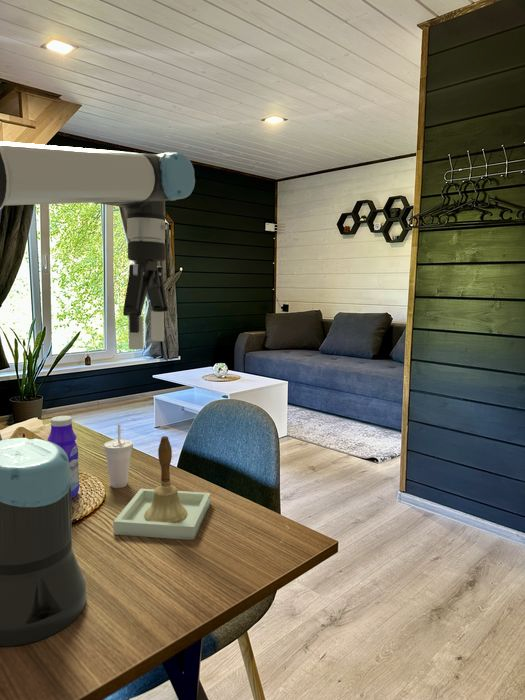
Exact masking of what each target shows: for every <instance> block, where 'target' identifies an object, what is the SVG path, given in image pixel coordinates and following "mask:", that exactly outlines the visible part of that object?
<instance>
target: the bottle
mask: <svg viewBox="0 0 525 700" xmlns="http://www.w3.org/2000/svg"><path fill="white" fill-rule="evenodd" d="M72 420H73V419H72V416H70V415H58V416H54V417H51V418H50V432H49V435H48V437H47V441H50V442H52V443H55V444H56V445H58V446H60V447H61V448H62V449H63V450H64V451H65V452H66V454H67V456H68V460H69V467H70V473H71V477H72V480H71V500H73V499H74V498H75V497H76V496H77V495H78V494H79V490H80V471H79V470H80V469H79V468H80V467H79V446H78V444H77V442H76V440H77V435H76V433H75V431H74V429H73V421H72ZM73 497H74V498H73ZM72 498H73V499H72Z"/></svg>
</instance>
